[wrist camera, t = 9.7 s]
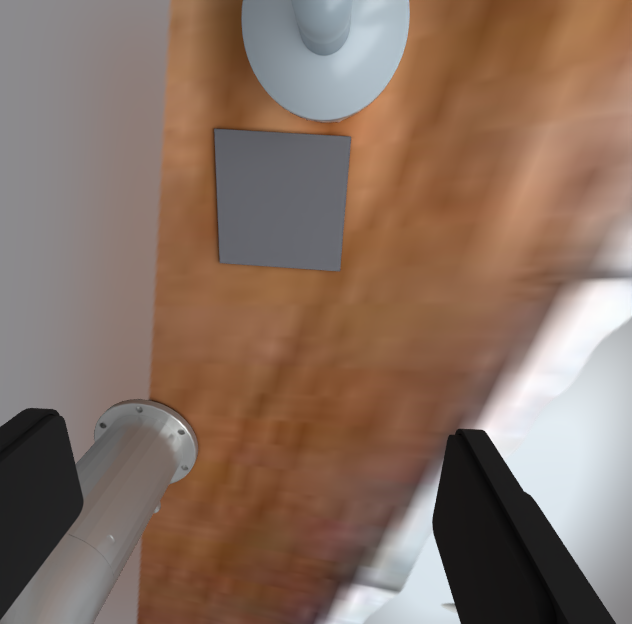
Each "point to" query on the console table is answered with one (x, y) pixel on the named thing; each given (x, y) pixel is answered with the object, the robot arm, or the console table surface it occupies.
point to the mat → (281, 198)
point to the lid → (324, 52)
